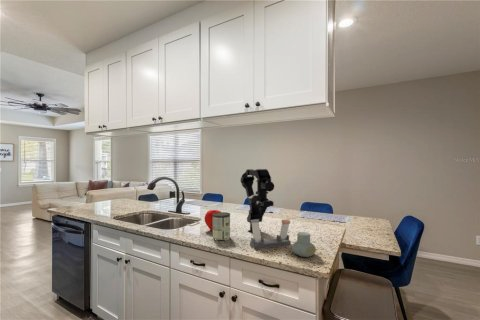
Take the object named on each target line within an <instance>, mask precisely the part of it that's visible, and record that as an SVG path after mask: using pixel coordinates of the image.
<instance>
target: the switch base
mask: <svg viewBox="0 0 480 320" xmlns="http://www.w3.org/2000/svg"><path fill="white" fill-rule="evenodd" d="M291 243H292V242H291V240H290V235H289V234H287V237H286V239H281V236H280V234H276V238H271V239H265V238H264V237H263V236H261V242H255V239H254V238H253V237H251V238H250V241H249V246H250V247H251V249H253V248H254V249H253V250H259V249H268V248H276V247H284V246H290V245H291ZM291 246H292V245H291Z"/></svg>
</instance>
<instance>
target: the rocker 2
mask: <svg viewBox="0 0 480 320" xmlns="http://www.w3.org/2000/svg"><path fill="white" fill-rule="evenodd" d="M290 224H291V220H290V219H289V218H288V219H287V218H286V219H285V218H284V219H281V226H280V232H279V236H281V239H286V237H287V235H288V232H289V226H290Z"/></svg>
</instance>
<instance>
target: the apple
mask: <svg viewBox="0 0 480 320" xmlns="http://www.w3.org/2000/svg"><path fill="white" fill-rule="evenodd" d="M218 212H222V211H220V210H217V209H210V210H207V212H206V213H205V215H204V223H205V225H206V226H207V227H208V229H209V230H211V231H213V215H212V214H213V213H218Z"/></svg>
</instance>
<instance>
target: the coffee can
mask: <svg viewBox="0 0 480 320" xmlns="http://www.w3.org/2000/svg"><path fill="white" fill-rule="evenodd" d="M212 215H213V230H212V240H213V239H216V240H215V241H217V240H225V241H229V240H231V213H230V212H225V211H221V212H218V213H213V214H212Z"/></svg>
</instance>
